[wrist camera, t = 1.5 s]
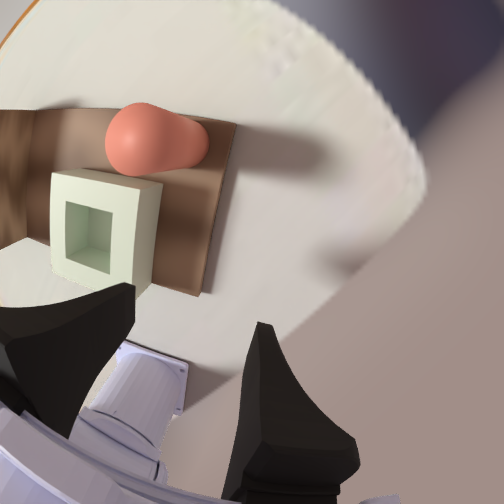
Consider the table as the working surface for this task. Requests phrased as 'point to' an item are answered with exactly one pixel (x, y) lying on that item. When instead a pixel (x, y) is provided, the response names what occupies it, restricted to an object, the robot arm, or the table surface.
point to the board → (94, 158)
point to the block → (103, 228)
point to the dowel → (154, 141)
